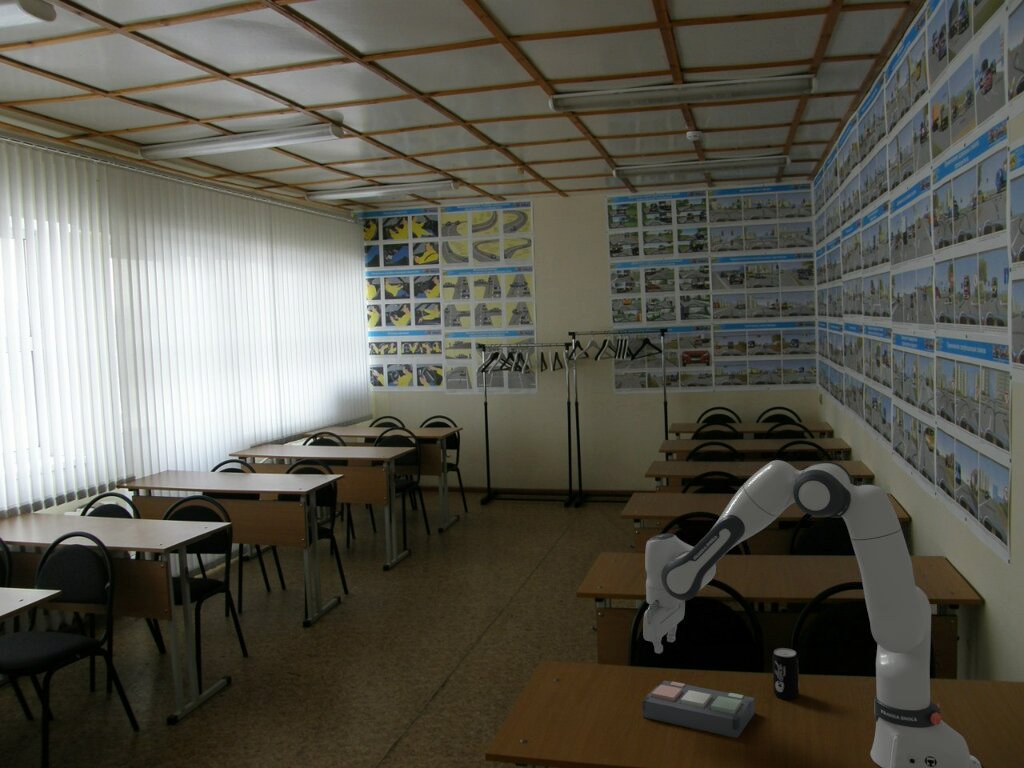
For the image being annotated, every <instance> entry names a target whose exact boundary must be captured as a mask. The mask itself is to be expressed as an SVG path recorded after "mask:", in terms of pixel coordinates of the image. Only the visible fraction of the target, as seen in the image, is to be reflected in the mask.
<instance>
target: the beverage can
mask: <svg viewBox="0 0 1024 768" xmlns="http://www.w3.org/2000/svg"><path fill="white" fill-rule="evenodd" d="M772 679H773V680H772V683H773V685H772V686H773V693H774V694H775V696H776V697H777V698H779V699H782V700H788V701H789V700H794V699H797V698H798V696H799V695H800V681H799V658H798V656H797V651H795V650H793V649H791V648H785V647H780V648H776V649H774V651H773V654H772Z"/></svg>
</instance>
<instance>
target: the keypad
mask: <svg viewBox="0 0 1024 768" xmlns="http://www.w3.org/2000/svg"><path fill="white" fill-rule="evenodd" d="M660 685H666V686H671V687H676V688H681V689H682V695H681V696H680V697H679V698H678V699H677V700H676V701H675V702H671V701H666V700H661V699H656V698H652V693H653V692H654V691H655V690H656V689H657V688H658V687H659V686H660ZM689 690H691V691H696V692H701V693H706V694H711V701H710V702H709V704H708V705H707V706H706V707H705V708H700V707H695V706H690V705H685V704H681V698H682V697H683V696H684V695H685V694H686V693H687V692H688V691H689ZM718 696H721V697H727V698H732V699H737V700H742V707H741V708H740V710H739V711H738V712H737V714H736V715H733V714H728V713H723V712H719V711H714V710H711V705H712V703H713V702H714V701H715V700H716V699H717V697H718ZM641 701H642V702H641V705H642V718H644V719H645V718H646V719H650V720H655V721H660V722H664V723H669V724H673V725H677V726H681V727H686V728H689V729H694V730H695V729H696V730H699V731H704V732H707V733H712V734H718V735H723V736H726V737H731V738H735V739H738V738H739V736H740V735H741V734H742V732H743V731H744V729H745V728H746V727H747V725H748V724H749V722H750V721H751V719H752V718H753V716H754V715H755V714H756V705H755V701H756V700H755V697H751V696H746V695H743V694H739V693H735V692H734V693H733V692H726V691H720V690H715V689H712V688H711V689H709V688H705V687H701V686H694V685H689V684H686V683H684V682H676V681H669V680H663V681H662V682H659V683H658V684H657V685H656V686H655V687H654V688H653V689H652V690H651V691H650V692H649V693H648V694H647V695H646V696H645V697H644V698H643V699H642V700H641Z"/></svg>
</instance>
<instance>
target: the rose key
mask: <svg viewBox="0 0 1024 768" xmlns="http://www.w3.org/2000/svg"><path fill="white" fill-rule="evenodd" d="M681 695H682V689H681V688H676V687H671V686H666V685H660V686H659V687H658V688H657V689H656V690H655V691H654V692H653V693H652V698H656V699H661V700H666V701H671V702H675V701H676V700H677V699H678V698H679V697H680V696H681Z"/></svg>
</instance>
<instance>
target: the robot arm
mask: <svg viewBox="0 0 1024 768" xmlns="http://www.w3.org/2000/svg"><path fill="white" fill-rule="evenodd" d="M794 503H795V504H796V506H797V508H799V509H800V510H801V511H802V512H803V513H806V514H807V515H811V516H814V517H826V518H827V517H828V518H835V519H836V518H837V519H838V518H842V519H843V521H844V522H845V525H846V527H847V530H848V535H849V537H850V541H851V545H852V548H853V550H854V551H853V552H854V554H855V557H856V560H857V564H858V567H859V571H860V575H861V582H862V587H863V595H864V599H865V606H866V610H867V613H868V618H869V623H870V625H869V626H870V632H871V634H872V638H873V639H874V641H875V642H876V644H877V647H876V648H877V649H876V657H875V675H876V676H875V678H876V679H875V680H876V681H875V683H876V694H875V696H874V701H873V705H874V707H873V709H874V718H875V722H876V723H875V731H874V732H875V733H874V737H873V738H874V739H873V743H872V746H871V747H872V748H871V750H870V757H871V759H872V761H873V762H874V763H875V764H876V765H878V766H879V767H881V768H982V764H981V763H980V760H979V759H977V757H975V756H974V755H971V754H970V749H969V745H968V743H967V741H966V739H965V738H964V737H963V735H961V734H960V733H959V732H957V731H956V730H955V729H954V728H952V727H951V726H950V725H948V724H947V723H946V722H944V721H943V720H942V715H941V713H942V711H941V705H940V703H939V702H937V704H935V703H934V702H933V701H931V684H930V683H931V681H930V679H931V678H930V677H931V676H930V674H931V673H930V669H931V668H930V666H931V665H930V663H931V643H932V642H931V639H932V637H931V633H932V632H931V631H932V609H931V604H930V603H931V602H930V601H929V598H928V595H927V594H926V593H925V592H924V591H923V590H922V588H920V587H919V586H917V585H916V581H915V575H914V568H913V562H912V559H911V556H910V553H909V549H908V547H907V545H908V544H907V542H906V539H905V537H904V533H903V530H902V527H901V524H900V520H899V518H898V516H897V513H896V511H895V508H894V506H893V504H892V502H891V500H890V498H889V497H888V495H887V493H886V491H885V490H884V489H883V488H881V487H880V486H877V485H873V484H862V485H855V484H853V479H852V476H851V474H850V472H849V471H848V470H847V469H846V467H844V466H843V465H841V464H839V463H837V462H834V461H822V462H821V461H820V462H817V463H813V464H809V465H806V466H803V467H802V468H801V469H800V470H798V469H796V468H795V467H794V466H793V465H792V464H790V463H789V462H786V461H784V460H780V459H779V460H778V459H775V460H772V461H769V463H767V464H765V465H763V466H762V467H761V468H760V469H758V470H757V471H756V472H755V473H754V474H752V475H751V476H750V477H749V478H747V480H746V481H745V482H744V483H743V485H741V486H740V488H739V489H737V492H735V494H734V495H733V497H731V500H730V501H729V503H728V504H727V505H726V507H725V508H724V510H723V512H722V513H721V515H720V516H719V518H718V520H717V521H716V522H715V523H714V525H713V526H712V527H711V529H710V530H709V531H708V532H707V533H706V535H704V537H702V538H701V539H700V540H699V542H698V543H697V544H695V546H694V545H693V546H692V545H691V544H688V543H686V542H684V541H683V540H681V539H679V537H677V535H676V534H673V533H659V534H657V535H654V536H652V537H650V538H649V539H648V540H647V541H646V543H645V551H644V552H645V553H644V556H645V558H644V559H645V560H644V563H645V564H644V565H645V567H644V568H645V572H646V581H645V590H646V591H645V593H646V603H647V604H649V605H648V609H646V610H645V612H644V614H643V621H642V622H643V623H642V624H643V626H642V628H643V629H642V632H643V633H642V636H643V637H642V638H643V639H644V640H645V642H646V641H648V642H651V643H652V644H653V646H654V653H656V654H662V653H663V652H664V645H663V644H662V638H663V637H664V636H666V641H667V642H668V643H673V642H675V641H676V633H677V629H678V624H679V623H680V622H681V621H682V620H684V618H685V617H684V616H685V613H686V612H685V610H686V601H690V600H691V599H693V598H694V597H696V596H697V594H698V593H699V592H700V591H701V590H702V589H703V588H704V587H706V585H708V584H709V582H711V581H712V580H713V579H714V577H715V576H716V573H717V563H718V562H719V561H720V559H722V558H723V556H725V555H726V554H727V553H728V552H729V551H730V550H731V549H733V548H734V547H736V546H738V544H741V543H742V542H744V541H746V540H747V539H749V538H751V537H753V536H754V535H756V534H758V533H759V532H761V531H762V530H764V529H765V528H767V527H768V526H769V525H770V524H772V523H773V522H774V521H776V519H777V518H778V517H779V516H780V515H781V514H782V513H783V512H784V511H785V510H786V509H787V508H789V506H790V505H792V504H794Z"/></svg>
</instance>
